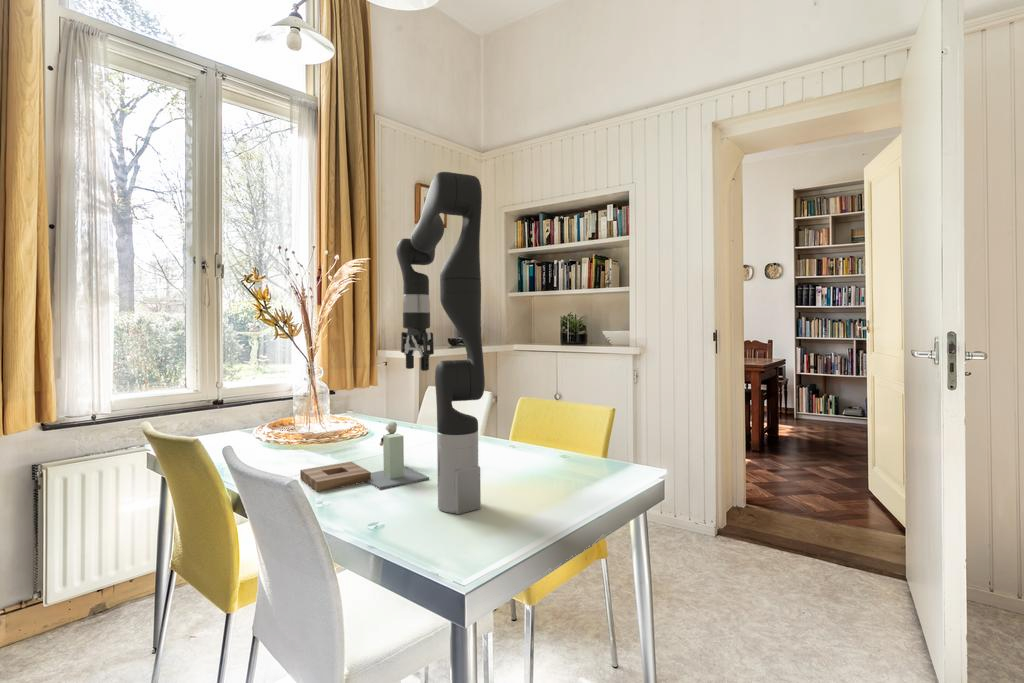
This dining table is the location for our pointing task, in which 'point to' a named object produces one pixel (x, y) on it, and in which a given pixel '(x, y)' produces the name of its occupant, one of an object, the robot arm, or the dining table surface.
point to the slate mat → (384, 482)
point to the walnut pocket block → (334, 476)
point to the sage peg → (393, 455)
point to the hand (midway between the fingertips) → (417, 369)
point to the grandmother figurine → (390, 430)
